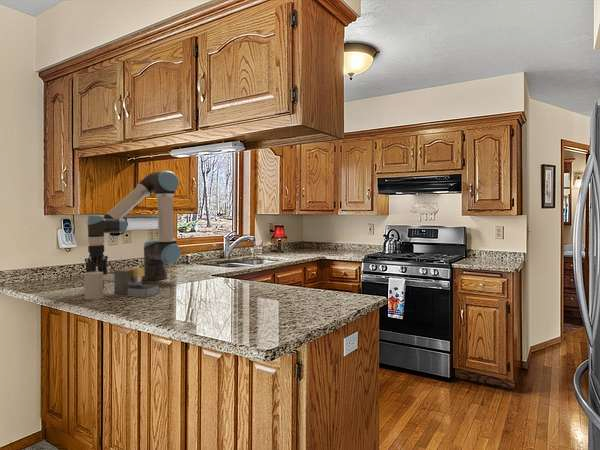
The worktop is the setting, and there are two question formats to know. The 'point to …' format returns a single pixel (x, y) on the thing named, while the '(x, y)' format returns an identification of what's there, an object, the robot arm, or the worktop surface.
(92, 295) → the grey upright block
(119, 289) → the bearing block
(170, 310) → the worktop surface
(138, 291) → the tray
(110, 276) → the shaft
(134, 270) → the spacer
